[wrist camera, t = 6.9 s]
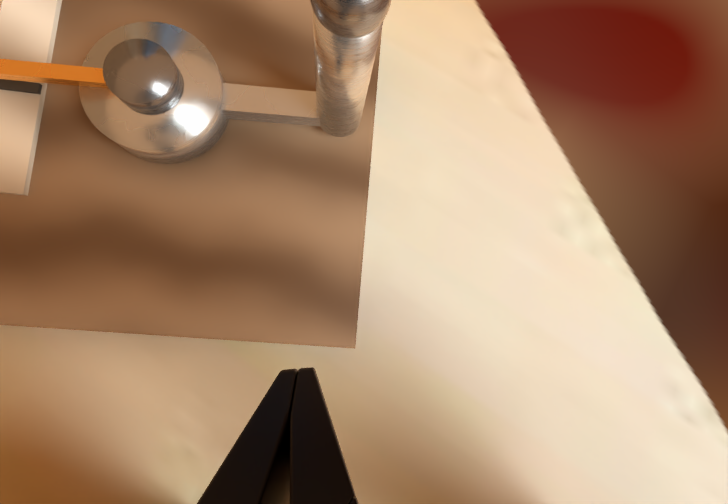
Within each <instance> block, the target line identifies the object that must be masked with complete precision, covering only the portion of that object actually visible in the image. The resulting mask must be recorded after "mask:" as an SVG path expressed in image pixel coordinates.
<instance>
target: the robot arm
mask: <svg viewBox="0 0 728 504" xmlns="http://www.w3.org/2000/svg"><path fill="white" fill-rule="evenodd" d="M197 504H358V500H357V498H356V496H355V492H354V489H353V486H352V482H351V479H350V476H349V473H348V470H347V467H346V464H345V461H344V458H343V455H342V452H341V448H340V445H339V442H338V439H337V436H336V433H335V430H334V427H333V424H332V421H331V418H330V414H329V411H328V408H327V405H326V402H325V399H324V396H323V393H322V390H321V387H320V384H319V380H318V377H317V374H316V371H315V369H314V368H301V369H299V370H297V369H289V370H282V371H281V372H280V373H279V374H278V376H277V378H276V379H275V381H274V382H273V384H272V386H271V387H270V389H269V390H268V392H267V393H266V395H265V397H264V398H263V400H262V401H261V403H260V405H259V406H258V408H257V409H256V411H255V412H254V414H253V416H252V417H251V419H250V420H249V422H248V424H247V425H246V427H245V428H244V430H243V432H242V433H241V435H240V436H239V438H238V439H237V441H236V443H235V444H234V446H233V447H232V449H231V451H230V452H229V454H228V455H227V457H226V458H225V460H224V462H223V463H222V465H221V466H220V468H219V470H218V471H217V473H216V474H215V476H214V478H213V479H212V481H211V482H210V484H209V485H208V487H207V489H206V490H205V492H204V493H203V495H202V497H201V498H200V500H199V501H198V503H197Z"/></svg>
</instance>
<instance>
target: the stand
mask: <svg viewBox="0 0 728 504" xmlns="http://www.w3.org/2000/svg"><path fill="white" fill-rule="evenodd" d="M147 21H150V22H161V23H167V24H170V25H174V26H176V27H179V28H181V29H183V30H185V31H187V32H189V33H190V34H192V35H193V36H195V37H196V38H197V39H198V40H199V41H201V42H202V43H203V44H204V45H205V47H206V48H207V49H208V50H209V52H210V53H211V55H212V57H213V58H214V60H215V62H216V64H217V66H218V68H219V70H220V72H221V75H222V77H223V79H224V81H225V83H230V84H240V85H251V86H262V87H273V88H283V89H294V90H305V91H315V92H316V84H315V58H314V32H313V9H312V5H311V2H310V0H2V4H1V10H0V59H9V60H20V61H31V62H41V63H52V64H62V65H73V66H82V64H83V62H84V60H85V58H86V56H87V54H88V53H89V51H90V50H91V48H92V47H93V46H94V45H95V44H96V43H97V42H98V41H99V40H100V39H101V38H102V37H104V36H105V35H106V34H108V33H109V32H111V31H113V30H115V29H117V28H119V27H121V26H124V25H128V24H131V23H137V22H147ZM381 31H382V29H381ZM380 43H381V33H380V38H379V42H378V47H377V51H376V55H375V60H374V64H373V69H372V73H371V78H370V82H369V86H368V91H367V95H366V100H365V104H364V108H363V113H362V117H361V121H360V125H359V127H358V128H357V129H356V131H355V132H353V133H352V134H350V135H348V136H345V137H335V136H331V135H329V134H327V133H326V132H325V131H324V130H323V129H322V128H321V127H319V126H307V125H295V124H284V123H272V122H260V121H248V120H236V119H229V122H228V125H227V127H226V130H225V132H224V133H223V135H222V137H221V138H220V139H219V141H218V142H217V143H216V144H215V145H214V146H213V147H212V148H211V149H210V150H208V151H207V152H206V153H204V154H203V155H201V156H199V157H197V158H195V159H192V160H189V161H186V162H182V163H175V164H160V163H154V162H150V161H146V160H144V159H141V158H138V157H137V156H135V155H133V154H131V153H130V152H128V151H127V150H125V149H124V148H123V147H121V146H120V145H118V144H117V143H115V142H114V141H112V140H111V139H109V138H108V137H107V136H105V135H104V134H103V133H101V132H100V131H99V130H98V129H97V128H96V127H95V126H94V124H93V123H92V122H91V121H90V119H89V118H88V116H87V114H86V113H85V111H84V108H83V106H82V103H81V99H80V95H79V86H73V85H62V84H51V83H40V82H28V81H17V80H6V79H0V325H13V326H28V327H43V328H58V329H73V330H88V331H103V332H118V333H133V334H148V335H163V336H178V337H193V338H208V339H223V340H238V341H253V342H268V343H283V344H298V345H313V346H327V347H342V348H355V344H356V332H357V320H358V308H359V296H360V284H361V272H362V260H363V248H364V235H365V223H366V211H367V199H368V187H369V175H370V163H371V151H372V139H373V127H374V115H375V103H376V91H377V79H378V67H379V55H380Z"/></svg>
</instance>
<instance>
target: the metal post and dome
mask: <svg viewBox="0 0 728 504" xmlns="http://www.w3.org/2000/svg"><path fill="white" fill-rule="evenodd" d="M310 2H311V5H312V9H313V32H314V58H315V84H316V92H315V91H305V90H294V89H283V88H273V87H262V86H251V85H240V84H230V83H225V81H224V79H223V77H222V75H221V72H220V70H219V68H218V66H217V64H216V62H215V60H214V58H213V57H212V55H211V53H210V52H209V50H208V49H207V48H206V47H205V45H204V44H203V43H202V42H201V41H199V40H198V39H197V38H196V37H195V36H193V35H192V34H190V33H189V32H187V31H185V30H183V29H181V28H179V27H176V26H174V25H170V24H167V23H161V22H150V21H147V22H137V23H131V24H128V25H124V26H121V27H119V28H117V29H115V30H113V31H111V32H109V33H108V34H106V35H105V36H104V37H102V38H101V39H100V40H99V41H98V42H97V43H96V44H95V45H94V46H93V47H92V48H91V50H90V51H89V53H88V54H87V56H86V58H85V60H84V62H83V64H82V66H73V65H62V64H52V63H41V62H31V61H20V60H9V59H0V79H6V80H17V81H28V82H40V83H51V84H62V85H73V86H79V95H80V99H81V103H82V106H83V108H84V111H85V113H86V114H87V116H88V118H89V119H90V121H91V122H92V123H93V124H94V126H95V127H96V128H97V129H98V130H99V131H100V132H101V133H103V134H104V135H105V136H107V137H108V138H109V139H111V140H112V141H114V142H115V143H117V144H118V145H120V146H121V147H123V148H124V149H125V150H127V151H128V152H130V153H131V154H133V155H135V156H137V157H138V158H141V159H144V160H146V161H150V162H154V163H160V164H175V163H182V162H186V161H189V160H192V159H195V158H197V157H199V156H201V155H203V154H204V153H206V152H207V151H208V150H210V149H211V148H212V147H213V146H214V145H215V144H216V143H217V142H218V141H219V139H220V138H221V137H222V135H223V133H224V132H225V130H226V127H227V125H228V122H229V119H236V120H248V121H260V122H272V123H284V124H295V125H307V126H319V127H321V128H322V129H323V130H324V131H325V132H326V133H327V134H329V135H331V136H335V137H345V136H348V135H350V134H352V133H353V132H355V131H356V129H357V128H358V127H359V125H360V121H361V117H362V113H363V108H364V104H365V100H366V95H367V91H368V86H369V82H370V78H371V73H372V69H373V64H374V60H375V55H376V51H377V47H378V42H379V38H380V33H381V29H382V25H383V20H384V18H385V17H386V15H387V12H388V10H389V7H390V4H391V0H310Z"/></svg>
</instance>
